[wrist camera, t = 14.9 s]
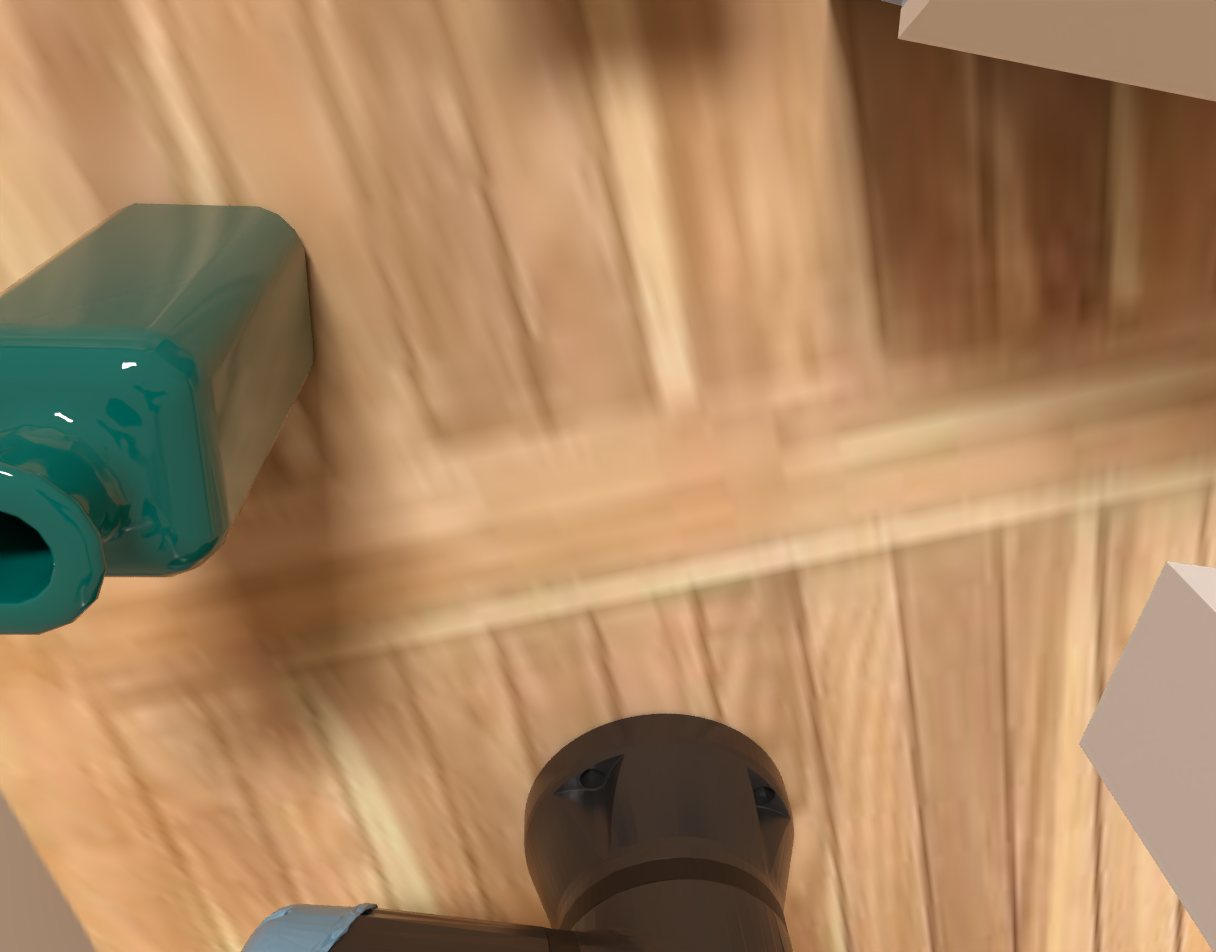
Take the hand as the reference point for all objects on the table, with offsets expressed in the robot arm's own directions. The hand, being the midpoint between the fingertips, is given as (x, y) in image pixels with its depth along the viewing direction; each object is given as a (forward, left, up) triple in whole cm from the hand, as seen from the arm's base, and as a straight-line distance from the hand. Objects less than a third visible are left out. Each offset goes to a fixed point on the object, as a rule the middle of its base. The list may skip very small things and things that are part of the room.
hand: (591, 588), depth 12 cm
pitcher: (-11, +14, -37) cm, 41 cm away
